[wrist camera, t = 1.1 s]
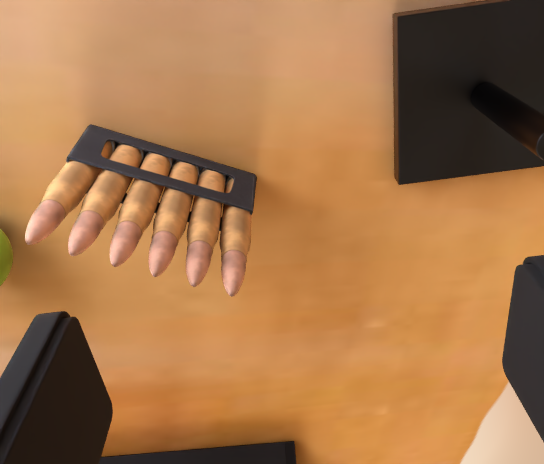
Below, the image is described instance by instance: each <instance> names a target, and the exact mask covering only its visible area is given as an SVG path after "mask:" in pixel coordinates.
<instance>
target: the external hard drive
mask: <svg viewBox="0 0 544 464" xmlns="http://www.w3.org/2000/svg"><path fill="white" fill-rule="evenodd" d="M99 464H296V454H295V444H294V441H291V442H279V443H267V444H255V445H243V446H231V447H219V448H207V449H195V450H183V451H171V452H159V453H147V454H135V455H123V456H111V457H101V458H100V462H99Z"/></svg>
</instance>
